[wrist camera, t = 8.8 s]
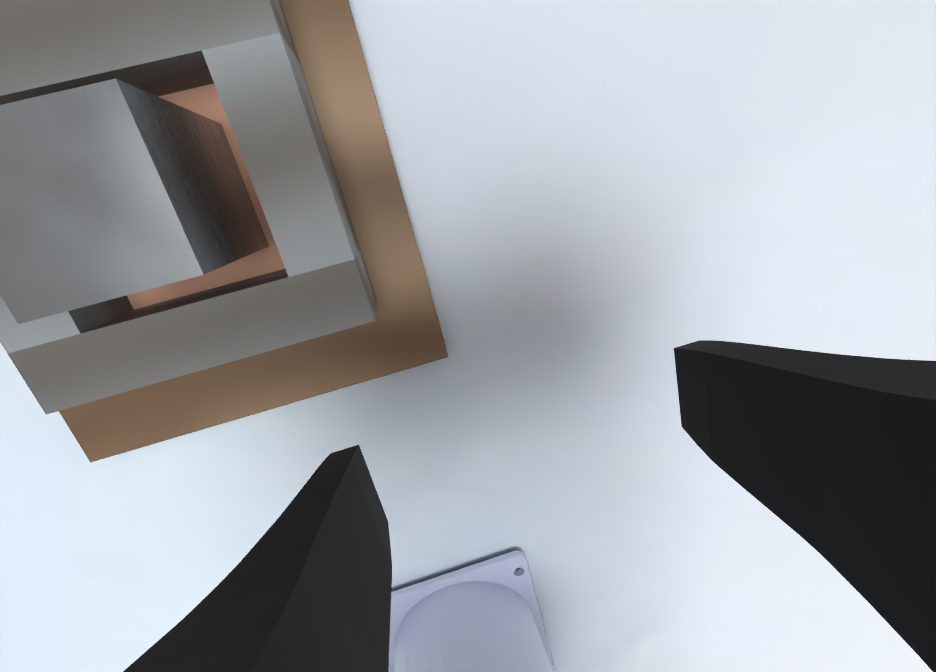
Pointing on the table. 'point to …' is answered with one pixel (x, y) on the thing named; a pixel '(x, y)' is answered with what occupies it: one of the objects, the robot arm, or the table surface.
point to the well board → (277, 207)
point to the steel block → (113, 198)
